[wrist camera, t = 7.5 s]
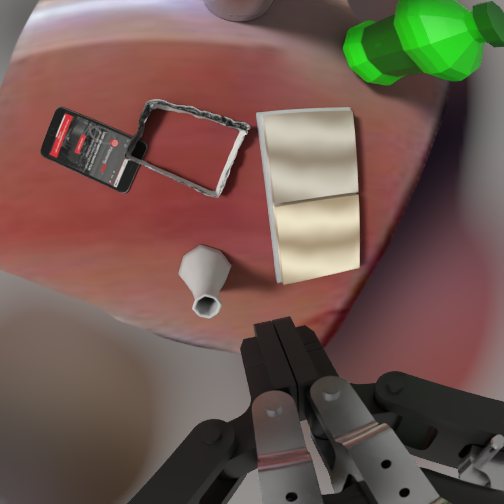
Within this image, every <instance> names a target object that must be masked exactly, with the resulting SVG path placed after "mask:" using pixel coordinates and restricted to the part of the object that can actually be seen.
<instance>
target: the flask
mask: <svg viewBox="0 0 504 504" xmlns="http://www.w3.org/2000/svg"><path fill="white" fill-rule="evenodd" d="M230 268H231V264H230V263H229V261H228V260H227V259H226V257H225V256H224V255H223V253H222V252H221V251H220V250H218V249H214V248H211V247H208V246H204V245H201V244H200V245H199V246H197V247H196V248H194V249H193V250H191V251H190V252H188V253H187V254H185V255H184V256H183V259H182V263H181V266H180V269H179V272H178V274H179V275H180V277H181V278H182V279H183V280H184V282H185V283H186V284H187V286H188V287H189V288H190V290H191V291H192V293H193V295H194V298H195V302H194V304H193V307H192V309H193V310H194V311H195V312H196V313H197V315H198V316H200V317H204V318H208V319H210V318H212V317H214V316H215V315H217V314H219V311H220V309H221V306H222V303H221V301H220V300H219V298H218V295H219V291H220V290H221V288H222V287H223V285H224V283H225V281H226V279H227V276H228V273H229V271H230Z"/></svg>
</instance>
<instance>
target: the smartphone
mask: <svg viewBox="0 0 504 504" xmlns="http://www.w3.org/2000/svg"><path fill="white" fill-rule="evenodd" d="M132 137H133V136H130V135H128V134H126V133H124V132H121V131H119V130H117V129H114V128H112V127H110V126H107V125H105V124H103V123H100V122H98V121H96V120H93V119H91V118H88V117H86V116H84V115H81V114H79V113H76V112H74V111H71V110H69V109H66V108H64V107H59V108H57V109H56V111H55V114H54V116H53V118H52V121H51V123H50V126H49V128H48V131H47V134H46V136H45V139H44V142H43V145H42V148H41V155H42V156H43V157H45V158H47V159H49V160H51V161H53V162H56V163H58V164H60V165H62V166H64V167H66V168H69V169H71V170H73V171H75V172H77V173H79V174H82V175H84V176H86V177H88V178H90V179H92V180H95V181H97V182H99V183H101V184H103V185H105V186H108V187H110V188H112V189H114V190H116V191H118V192H121V193H126V192H127V191H128V190H129V188H130V186H131V183H132V181H133V179H134V176H135V174H136V172H137V170H138V168H139V165H140V164H139V163H136V162H133V161H131V160H126V159H124V153H125V151H126V148H127V145H128V144H129V142H130V140H131V139H132ZM146 150H147V144H146V143H145V142H144V141H142V140H138V142H137V143H136V145H135V148H134V150H133V151H132V153H131V156H133V157H135V158H137V159H140V160H142V159H143V157H144V155H145V153H146Z"/></svg>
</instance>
